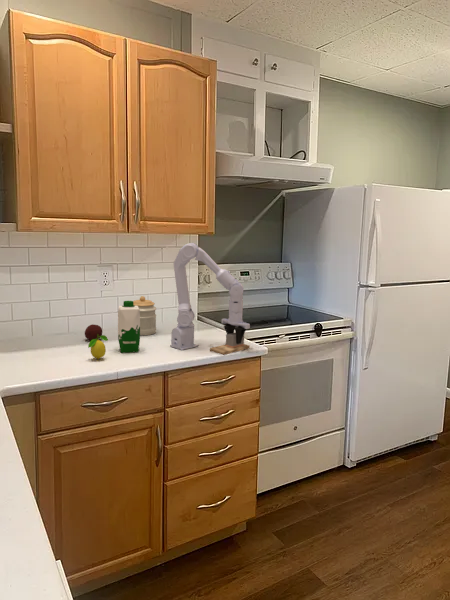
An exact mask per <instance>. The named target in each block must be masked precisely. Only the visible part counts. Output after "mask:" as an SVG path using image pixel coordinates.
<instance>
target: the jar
mask: <svg viewBox="0 0 450 600" xmlns="http://www.w3.org/2000/svg"><path fill="white" fill-rule="evenodd" d="M132 301H133V303H134V306H138V307H139V310H140V336H149V335H151V336H152V335H154V334H156V332H157V314H156V310H157V307H156V306H155V302H153V301H152V300H150V299H146V297H145V296H144V295H143V296H140V297H139V299H135V300H132Z"/></svg>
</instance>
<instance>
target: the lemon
mask: <svg viewBox="0 0 450 600" xmlns="http://www.w3.org/2000/svg"><path fill="white" fill-rule="evenodd" d="M99 337H100V338H99V339H92V340H89V342H88V346H87V347H88V348H90V354H91V356H92V357H93V358H95V359H96V360H100V358H101V359H102V358H103V357H104V356H105V355H106V352H107V349H106V345H105V344H104V342H103V341H105V342H106V341H107V342H108V341H109V339H108V337H107V335H105V334H102V335H101V336H99ZM100 339H101V340H100ZM102 340H103V341H102Z"/></svg>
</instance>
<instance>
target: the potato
mask: <svg viewBox="0 0 450 600" xmlns="http://www.w3.org/2000/svg"><path fill="white" fill-rule="evenodd" d="M101 335H103V328H102V327H101V325H98V324H94V323H93V324H90V325H88V326H87V327H86V329H85V331H84V336H85V339H87V340H89V341H91V340H92V339H97V340H100V339H101V338H100V337H99V336H101Z"/></svg>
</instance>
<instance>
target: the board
mask: <svg viewBox="0 0 450 600" xmlns="http://www.w3.org/2000/svg"><path fill="white" fill-rule="evenodd" d="M250 346H251V345H249V344H245V343H244V345H243V346H238V347H234V348H231V347H228V346H226V343H225V344H221V345H218V346H214V347H210V348H209V352H212V353H216V354H219V355H224V356H225V355H228V354H233V353H236V352H240V351H243V350H244V349H245V350H249V349H250V348H251V347H250ZM248 348H249V349H248ZM245 350H244V351H245Z"/></svg>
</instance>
